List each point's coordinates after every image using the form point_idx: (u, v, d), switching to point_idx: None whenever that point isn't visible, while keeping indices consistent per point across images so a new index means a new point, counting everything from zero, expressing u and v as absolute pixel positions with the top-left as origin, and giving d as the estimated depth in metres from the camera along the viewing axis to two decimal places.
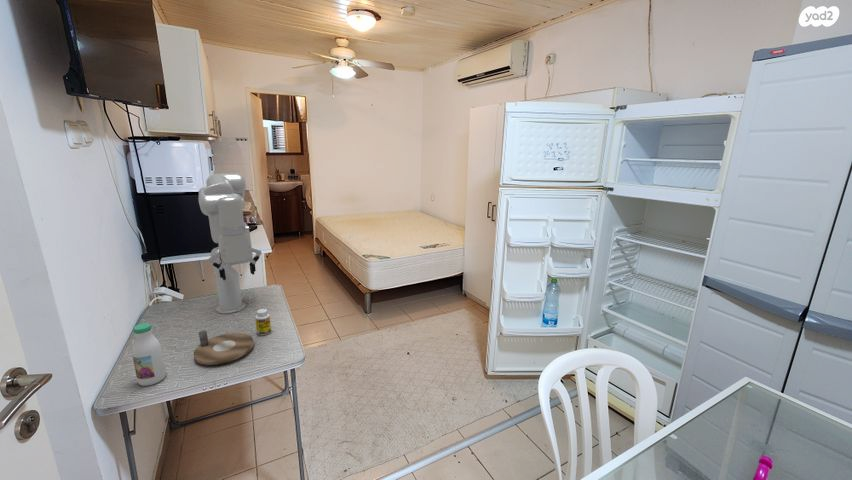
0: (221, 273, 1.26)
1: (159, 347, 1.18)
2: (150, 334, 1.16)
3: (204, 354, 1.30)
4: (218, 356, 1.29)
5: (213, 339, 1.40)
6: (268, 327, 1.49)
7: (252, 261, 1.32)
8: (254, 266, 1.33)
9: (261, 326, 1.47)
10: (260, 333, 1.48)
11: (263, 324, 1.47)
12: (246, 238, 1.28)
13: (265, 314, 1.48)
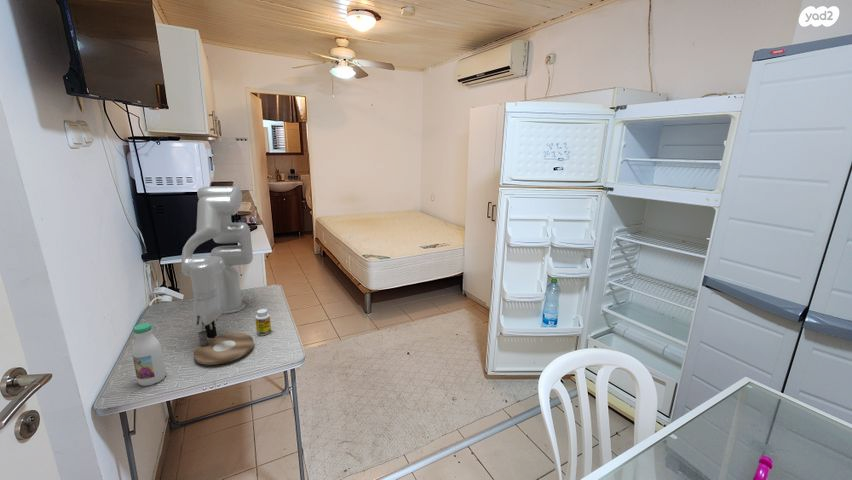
0: (211, 332, 1.37)
1: (159, 347, 1.18)
2: (151, 334, 1.16)
3: (204, 354, 1.29)
4: (218, 356, 1.29)
5: (212, 339, 1.40)
6: (268, 327, 1.49)
7: (214, 324, 1.38)
8: None
9: (261, 326, 1.47)
10: (260, 333, 1.48)
11: (263, 324, 1.47)
12: (217, 297, 1.39)
13: (265, 314, 1.48)
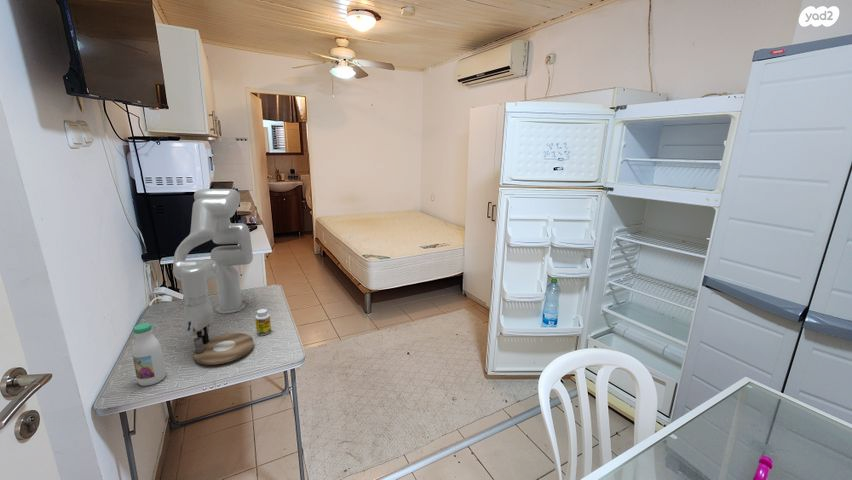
0: (203, 338, 1.33)
1: (159, 347, 1.18)
2: (151, 334, 1.16)
3: (215, 356, 1.28)
4: (232, 352, 1.31)
5: None
6: (268, 327, 1.49)
7: (206, 330, 1.34)
8: None
9: (261, 326, 1.47)
10: (260, 333, 1.48)
11: (263, 324, 1.47)
12: (209, 301, 1.34)
13: (265, 314, 1.48)
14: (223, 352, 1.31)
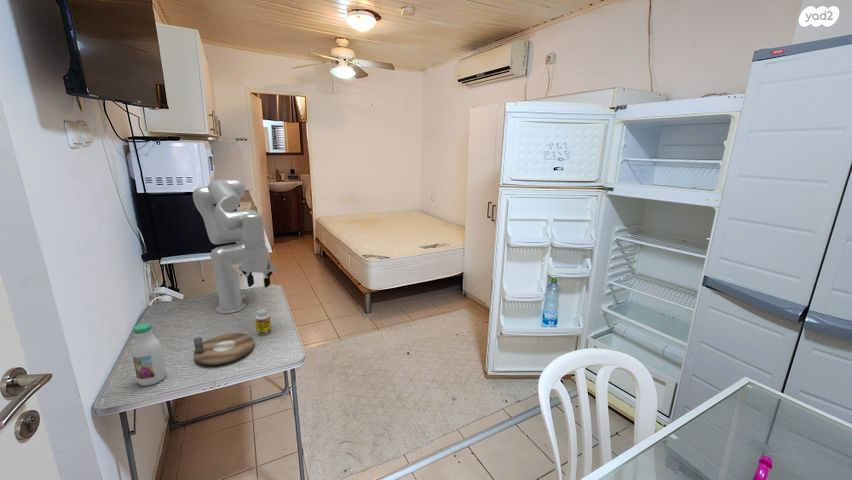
0: None
1: (159, 347, 1.18)
2: (151, 334, 1.16)
3: (215, 356, 1.28)
4: (232, 352, 1.31)
5: None
6: (268, 327, 1.49)
7: None
8: None
9: (261, 326, 1.47)
10: (260, 333, 1.48)
11: (263, 324, 1.47)
12: None
13: (265, 314, 1.48)
14: (223, 352, 1.31)
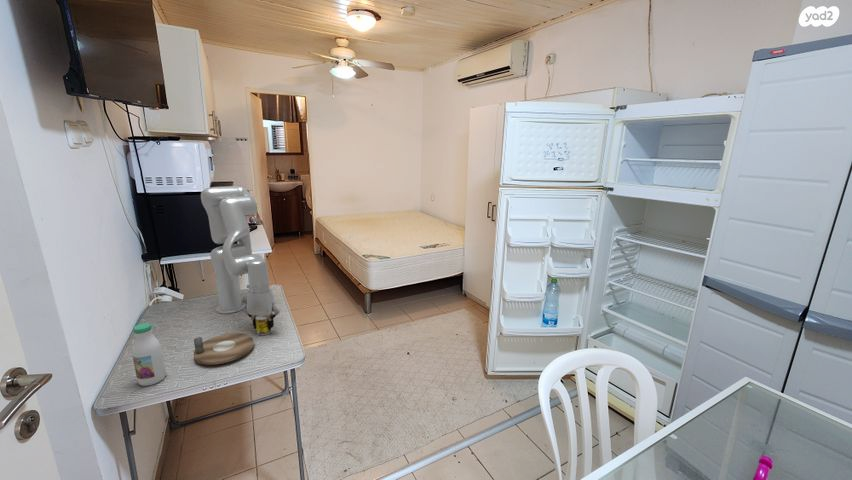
0: None
1: (159, 347, 1.18)
2: (151, 334, 1.16)
3: (215, 356, 1.28)
4: (232, 352, 1.31)
5: None
6: None
7: None
8: None
9: (261, 326, 1.47)
10: (260, 333, 1.48)
11: (263, 324, 1.47)
12: None
13: None
14: (223, 352, 1.31)
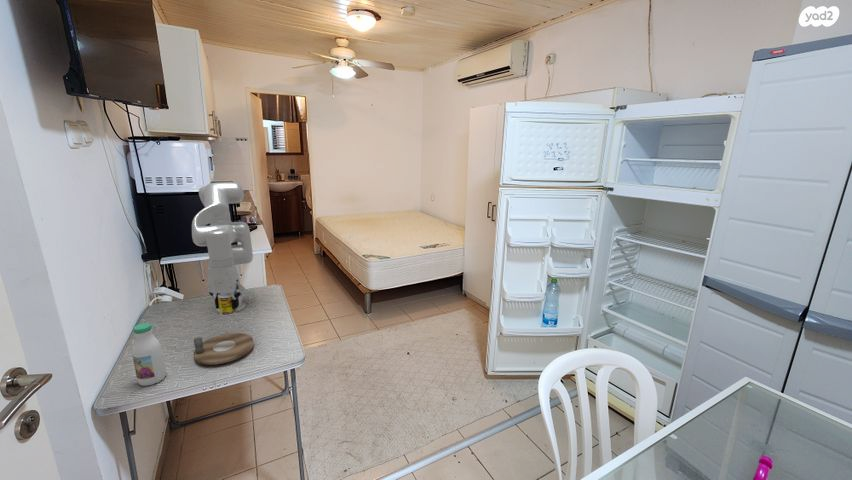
0: None
1: (159, 347, 1.18)
2: (151, 334, 1.16)
3: (215, 356, 1.28)
4: (232, 352, 1.31)
5: None
6: None
7: None
8: None
9: (224, 305, 1.31)
10: (223, 313, 1.32)
11: (227, 303, 1.31)
12: None
13: None
14: (223, 352, 1.31)
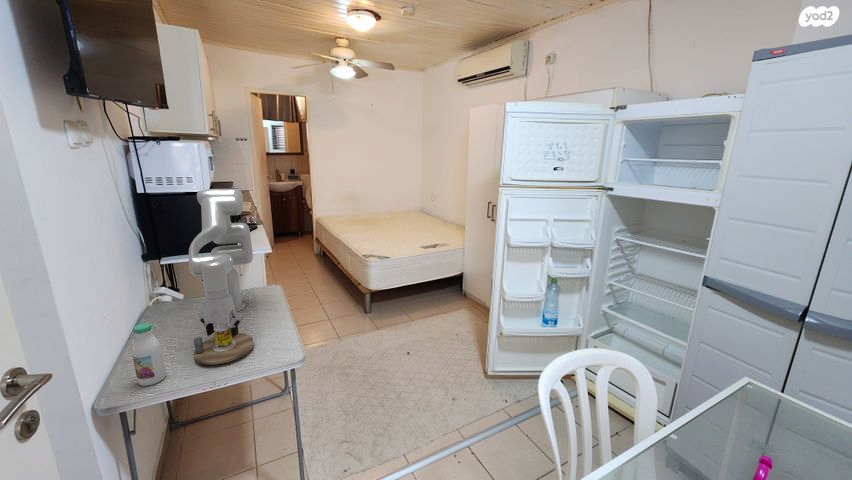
0: None
1: (159, 347, 1.18)
2: (151, 334, 1.16)
3: (215, 356, 1.28)
4: (232, 352, 1.31)
5: None
6: (228, 339, 1.34)
7: None
8: None
9: (220, 338, 1.32)
10: (219, 346, 1.33)
11: (222, 336, 1.32)
12: None
13: (225, 325, 1.32)
14: (223, 352, 1.31)
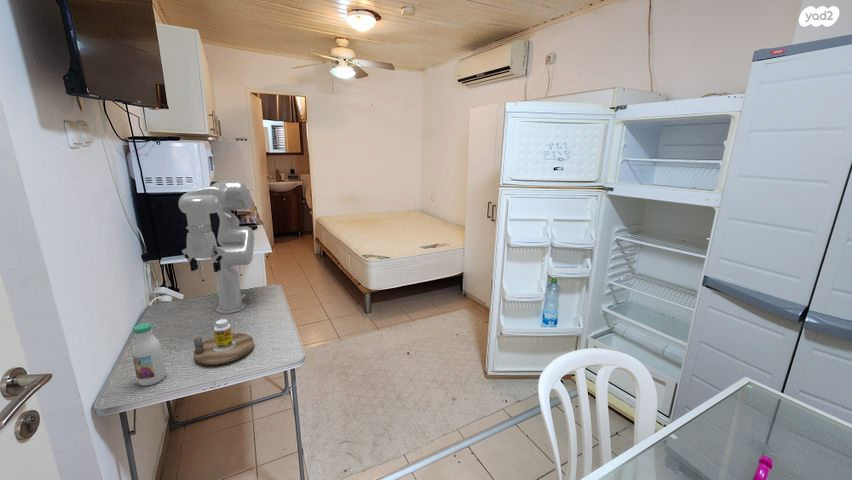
0: None
1: (159, 347, 1.18)
2: (151, 334, 1.16)
3: (215, 356, 1.28)
4: (232, 352, 1.31)
5: None
6: (228, 339, 1.34)
7: None
8: None
9: (220, 338, 1.32)
10: (219, 346, 1.33)
11: (222, 336, 1.32)
12: None
13: (225, 325, 1.32)
14: (223, 352, 1.31)
